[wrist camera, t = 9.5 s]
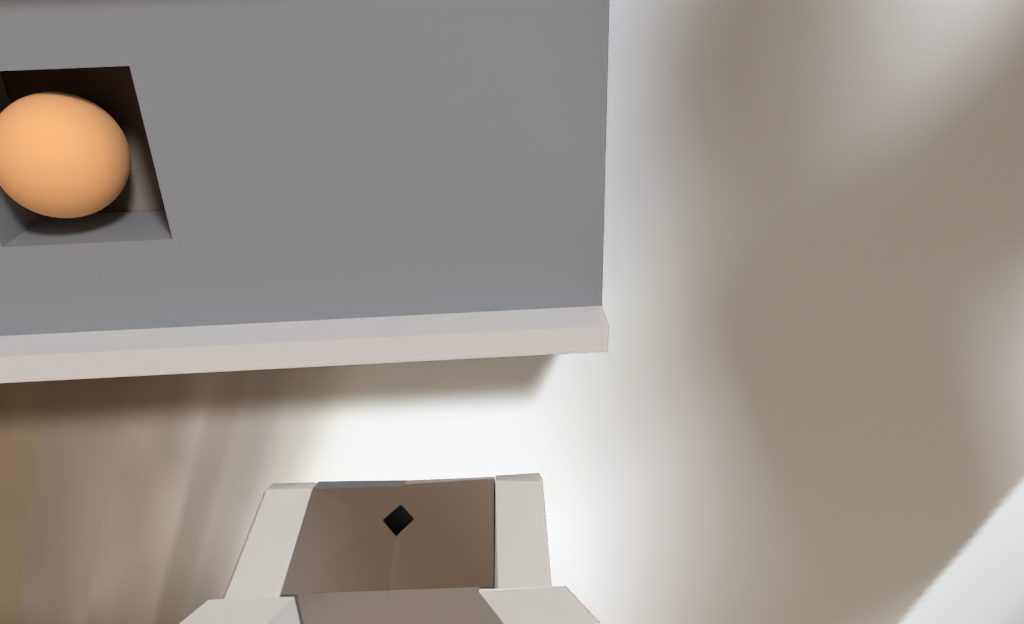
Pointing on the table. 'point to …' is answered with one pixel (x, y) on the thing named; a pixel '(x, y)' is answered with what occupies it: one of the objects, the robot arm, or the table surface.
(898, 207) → the table surface
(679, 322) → the table surface
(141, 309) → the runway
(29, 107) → the ball
